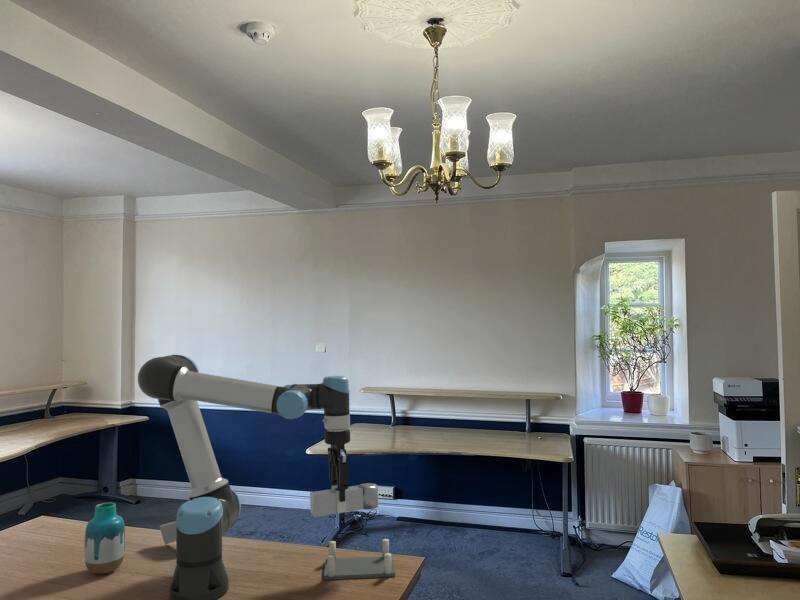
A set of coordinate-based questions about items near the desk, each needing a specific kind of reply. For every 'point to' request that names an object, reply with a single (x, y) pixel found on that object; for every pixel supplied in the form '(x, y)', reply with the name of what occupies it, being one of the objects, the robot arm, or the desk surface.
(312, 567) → the desk surface
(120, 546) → the vase
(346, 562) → the pad
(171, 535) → the white stapler
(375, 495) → the grey ball-ended handle
